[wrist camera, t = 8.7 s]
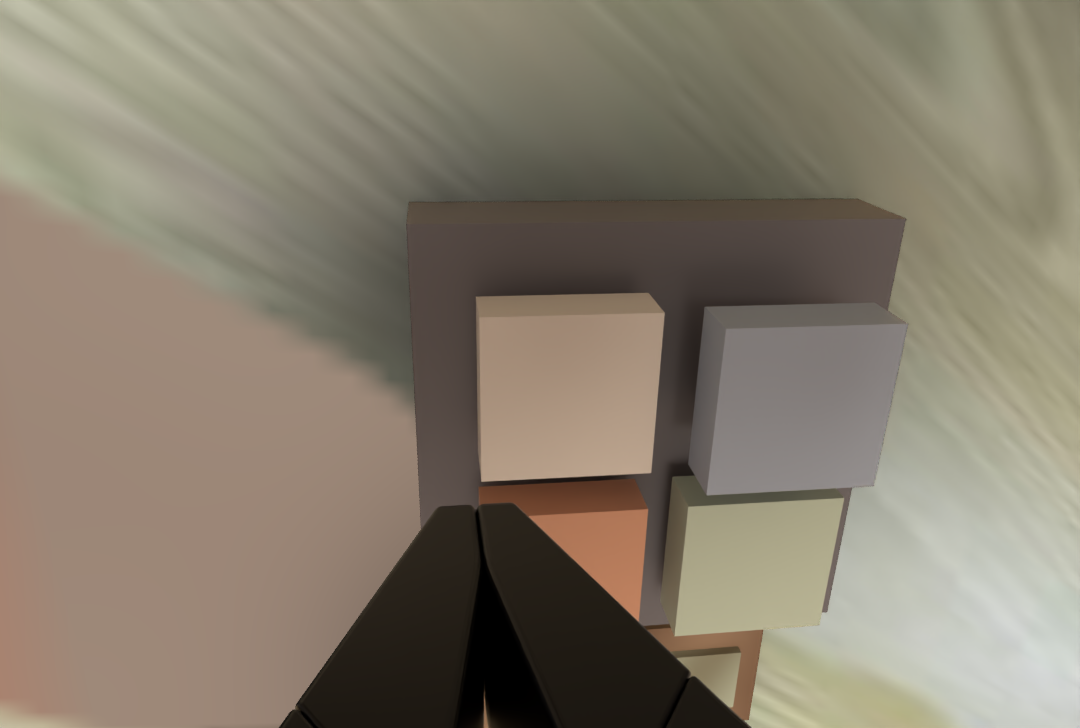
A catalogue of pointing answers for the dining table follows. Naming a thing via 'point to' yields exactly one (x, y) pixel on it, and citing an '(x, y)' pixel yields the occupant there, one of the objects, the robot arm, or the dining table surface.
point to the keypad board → (621, 267)
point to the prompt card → (715, 662)
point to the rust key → (590, 528)
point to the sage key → (747, 558)
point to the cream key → (567, 384)
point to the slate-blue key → (793, 396)
